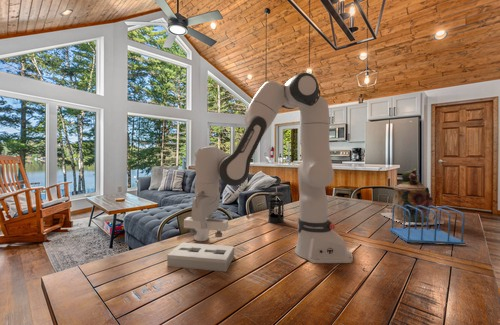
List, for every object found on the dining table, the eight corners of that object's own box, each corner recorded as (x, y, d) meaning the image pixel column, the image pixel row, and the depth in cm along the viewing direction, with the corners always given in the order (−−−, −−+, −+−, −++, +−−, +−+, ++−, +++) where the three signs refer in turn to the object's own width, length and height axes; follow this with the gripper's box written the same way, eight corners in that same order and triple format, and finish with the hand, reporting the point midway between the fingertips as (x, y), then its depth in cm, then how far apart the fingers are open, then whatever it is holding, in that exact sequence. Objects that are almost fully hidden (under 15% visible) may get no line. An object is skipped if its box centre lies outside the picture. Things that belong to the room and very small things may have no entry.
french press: (287, 223, 142) (288, 183, 141) (272, 224, 139) (273, 184, 138) (278, 217, 153) (278, 181, 152) (264, 219, 150) (265, 181, 149)
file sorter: (406, 243, 112) (408, 210, 111) (389, 231, 129) (390, 202, 128) (465, 246, 109) (467, 212, 109) (439, 233, 127) (441, 204, 126)
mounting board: (234, 256, 96) (234, 246, 96) (226, 271, 85) (226, 259, 84) (182, 252, 100) (182, 242, 100) (167, 266, 88) (167, 254, 88)
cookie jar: (378, 215, 161) (380, 167, 160) (412, 214, 164) (414, 167, 162) (406, 227, 137) (409, 170, 135) (446, 225, 139) (449, 170, 138)
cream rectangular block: (227, 235, 92) (228, 219, 92) (225, 238, 88) (225, 222, 88) (188, 231, 95) (188, 216, 94) (183, 235, 91) (183, 219, 91)
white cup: (206, 242, 111) (206, 220, 111) (190, 240, 113) (190, 219, 112) (212, 236, 119) (212, 216, 119) (197, 235, 121) (197, 215, 120)
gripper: (205, 195, 80) (204, 236, 80) (222, 186, 100) (222, 219, 101) (187, 194, 81) (186, 234, 82) (208, 185, 101) (207, 218, 102)
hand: (206, 226), depth 91 cm, fingers closed on cream rectangular block, 4 cm apart
